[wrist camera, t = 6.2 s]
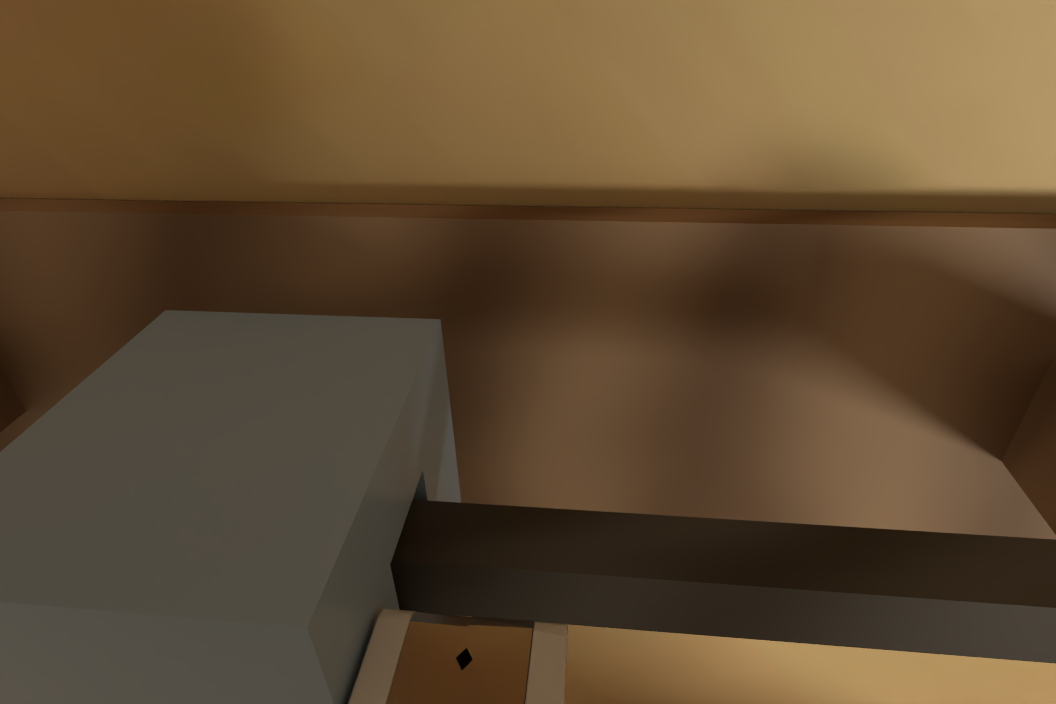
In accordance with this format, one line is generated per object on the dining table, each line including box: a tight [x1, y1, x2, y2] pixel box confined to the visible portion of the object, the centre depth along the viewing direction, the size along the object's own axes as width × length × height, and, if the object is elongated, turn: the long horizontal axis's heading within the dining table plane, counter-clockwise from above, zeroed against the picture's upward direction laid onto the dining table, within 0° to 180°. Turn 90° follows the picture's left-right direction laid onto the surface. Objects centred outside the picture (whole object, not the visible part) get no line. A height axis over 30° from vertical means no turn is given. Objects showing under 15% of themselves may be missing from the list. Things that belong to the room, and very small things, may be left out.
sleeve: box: [0, 310, 461, 704], centre depth 12 cm, size 6×6×7 cm
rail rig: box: [0, 198, 1056, 663], centre depth 13 cm, size 31×9×8 cm, turn 92°
